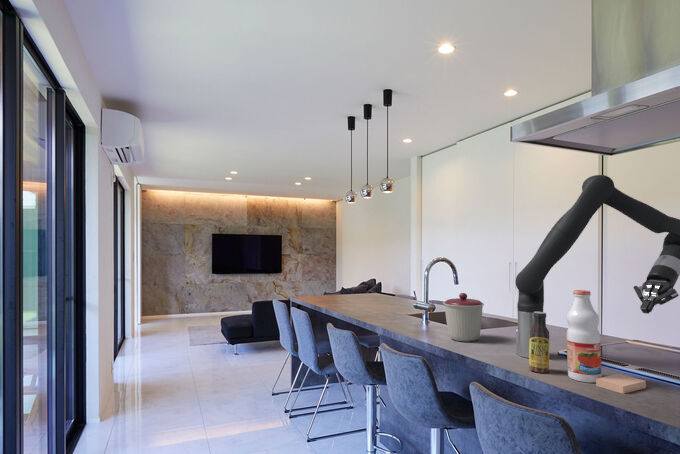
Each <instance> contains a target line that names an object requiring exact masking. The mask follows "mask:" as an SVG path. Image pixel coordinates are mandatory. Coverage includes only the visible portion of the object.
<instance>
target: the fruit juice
mask: <svg viewBox="0 0 680 454" xmlns="http://www.w3.org/2000/svg"><path fill="white" fill-rule="evenodd" d="M572 295H573V297H574V299H573V302H572V304H571V307H570V309H569V310H568V311H567V313H566V323H567V325H568V328H567V330H566V356H567V357H566V358H567V361H566V362H567V375H568V378H569V379H572V380H574V381H576V382H577V381H579V382H583V383H590V384H591V383H592V384H593V383H595V384H596V379H597V378H601V377H603V376H602V354H601V349H602V348H601V334H600V331H599V328H598V327H599V324H600V317H599V314H598V313H597V312H596V311H595V309H594V307H593V304H592V302H591V298H590V297H591V295H592V294H591V291H590V290H585V289H573V290H572Z"/></svg>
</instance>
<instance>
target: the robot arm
mask: <svg viewBox="0 0 680 454" xmlns="http://www.w3.org/2000/svg"><path fill="white" fill-rule="evenodd" d="M603 205H606V206H608V207H609V208H612V209H615V211H618V212H620V213H621V214H623V215H625V216H626V217H628V218H629V219H631V220H632V221H634V222H635V223H637V224H639V225H641V226H642V227H644V228H645V229H647V230H649V231H650V232H653V233H655V234H661V233H667V234H666V235H665V237H664V239H663V243H662V250H661V252H660V254H659V256H658V258H657V259H656V260H655V261H654V263H653V264H652V267H651V268H650V271H649V272H648V274H647V276H646V280H645V281H644V282H643V283H642V285H640V286H638V285H634V286H633V290H634V291H635V293H636V295H637V297H638V299H639V300H640V302H641V305H640V307H639V308H640V310H641V312H642V313H643V314H650V313H652V311H653V310H654V308H655V306H657V305H660V306H661V305H665V304H667V303H669V302H670V301H672V300H674V299H675V298H678V297H679V293H678V292H677V290H676V289H675V288H674V287H675V285H676V283H677V281H678V279H679V277H680V219H679V218H676V217H673V216H670V215H667V214H666V213H664V212H662V211H660V210H658V209H656V208H655V207H653V206H651V205H649V204H647V203H645V202H642V201H640V200H638V199H636V198H634V197H631V196H629V195H628V194H626V193H624V192H622V191H621V190H619V189H618V188H617V187H615V183H614V181H613V179H612V178H611V177H609V176H608V175H605V174H596V175H595V174H594V175H592V176H589V177H588V178H586V179H585V180H584V181H583V182H582V186H581V192H580V195H579V196H578V197H577V199H576V201H575V202H574V204H573V205H572V206H571V207H570V208H569V209H568V210H567V211H566V212H565V213H564V214H563V215H562V216H561V217H559V218H558V220H557V221H556V222H555V224H554V225H553V226H552V228H551V229H550V230H549V232H548V233H547V235H546V236H545V238H544V239H543V241H542V243H541V244H540V246H539V247H538V249H537V251H536V253H535V255H534V256H533V257H532V259H530V261H529V262H528V263H527V264H526V265H525V267H523V269H521V271H519V272H518V273H517V275H516V277H515V286H516V289H517V290H518V298H517V304H516V305H517V306H516V307H517V308H516V309H517V310H516V311H517V328H516V329H515V344H516V345H515V346H516V347H515V348H516V349H515V351H516V353H515V354H517V355H518V356H520V357H522V358H526V359H527V358H528V359H529V339H530V330H531V328H532V326H533V325H534V324H533V323H534V316H533V312H544V304H545V288H544V287H545V281H544V280H545V279H546V278H547V276H548V274H549V273H550V272H551V271H550V270H551V269H552V268H553V267H554V266H555V265H556V264H557V263H559V261H560V260H561V259H562V258H563V257H564V256H566V254H567V252H568V251H570V249H571V248H572V247H573V245H574V244H575V243H576V241H577V240H578V239H579V238H580V236H581V234H582V233H583V231H585V228H586V227H587V225H588V224H589V222H590V221H591V219H592V218H593V216H594V215H595V213H597V212H598V210H599V209H600V208H601V207H602V206H603ZM643 294H644V295H643Z"/></svg>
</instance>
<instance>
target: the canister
mask: <svg viewBox="0 0 680 454" xmlns="http://www.w3.org/2000/svg"><path fill="white" fill-rule="evenodd" d="M458 297H459V298H449V299H446V300H445V301H443V303H442V305H444V311H445V320H446V326H447V332H448V336H449V338H450V339H452V340H453V341H457V342H467V343H468V342H475V341H477V340H479V338H480V336H481V328H482V318H483V308H484V305H485V304H484V302H482V301H481V300H479V299H474V298H468V294H467V293H466V292H461V293H459V295H458Z"/></svg>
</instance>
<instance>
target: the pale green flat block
mask: <svg viewBox="0 0 680 454" xmlns="http://www.w3.org/2000/svg"><path fill="white" fill-rule="evenodd" d="M646 382H647V381H646V380H644V379H640V378H636V377H633V376H629V375H624V374H621V373H615V374H611V375H606V376H602V377H601V378H597V379H596V382H595V386H597V387H600V388H603V389H606V390H610V391H613V392H617V393H620V394H623V395H624V394H628V393H632V392H635V391H639V390H643V389H646V388H647V383H646Z"/></svg>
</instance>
